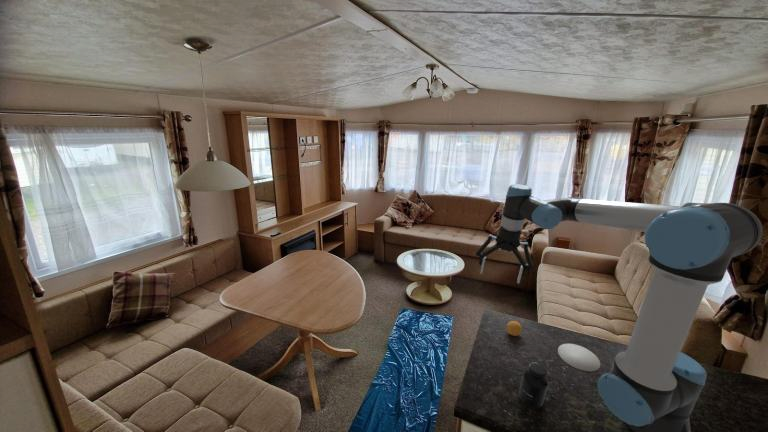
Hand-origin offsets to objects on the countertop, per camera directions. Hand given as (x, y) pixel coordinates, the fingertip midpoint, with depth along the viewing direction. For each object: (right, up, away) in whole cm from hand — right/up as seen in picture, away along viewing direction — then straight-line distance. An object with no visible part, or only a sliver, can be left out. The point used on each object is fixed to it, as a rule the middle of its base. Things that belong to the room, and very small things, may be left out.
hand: (499, 276), depth 120 cm
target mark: (+24, -27, -10) cm, 37 cm away
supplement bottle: (0, -32, -26) cm, 42 cm away
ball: (+6, -20, 0) cm, 21 cm away
